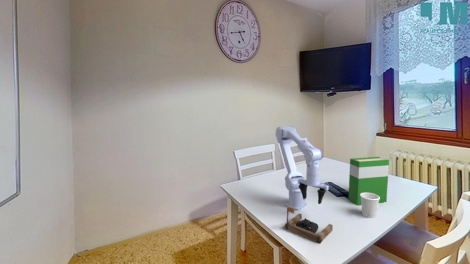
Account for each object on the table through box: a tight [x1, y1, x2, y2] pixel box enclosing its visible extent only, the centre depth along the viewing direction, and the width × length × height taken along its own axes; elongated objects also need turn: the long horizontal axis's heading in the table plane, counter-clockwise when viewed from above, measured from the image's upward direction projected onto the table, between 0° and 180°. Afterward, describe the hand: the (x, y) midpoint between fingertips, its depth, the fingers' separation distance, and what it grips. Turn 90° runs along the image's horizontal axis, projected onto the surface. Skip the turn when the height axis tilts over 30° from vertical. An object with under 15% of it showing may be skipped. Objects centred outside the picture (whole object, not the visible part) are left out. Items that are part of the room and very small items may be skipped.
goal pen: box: [284, 206, 334, 244], centre depth 100 cm, size 12×16×10 cm
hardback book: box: [348, 156, 390, 207], centre depth 126 cm, size 18×7×24 cm, turn 99°
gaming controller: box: [295, 217, 319, 234], centre depth 102 cm, size 10×5×6 cm
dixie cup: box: [360, 193, 380, 219], centre depth 112 cm, size 8×8×10 cm
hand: (312, 200), depth 111 cm, fingers open, 7 cm apart
